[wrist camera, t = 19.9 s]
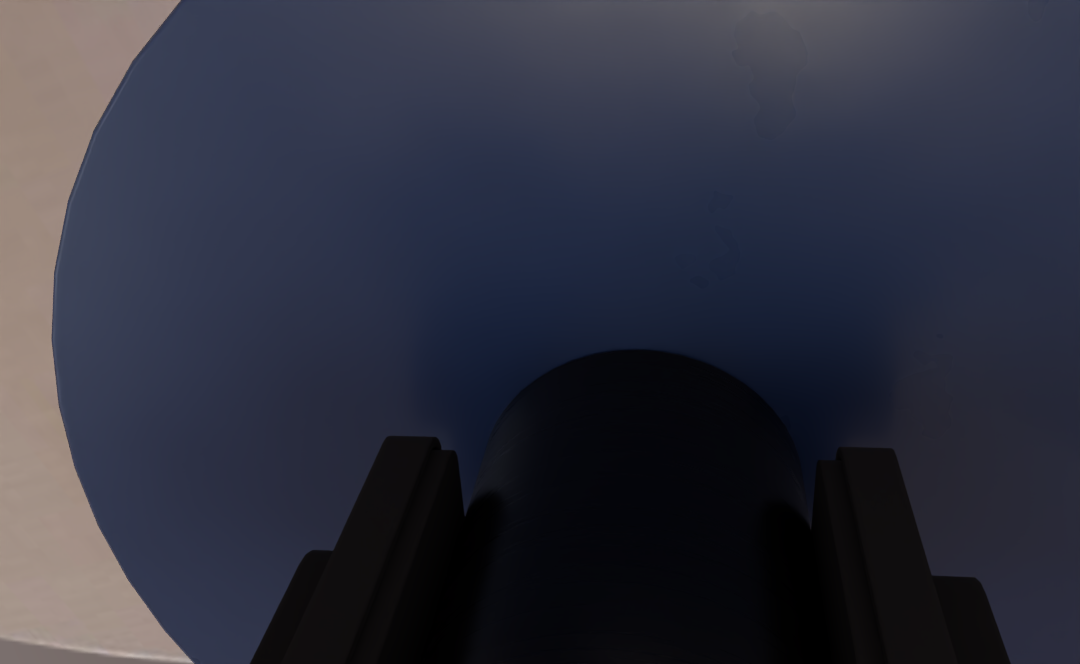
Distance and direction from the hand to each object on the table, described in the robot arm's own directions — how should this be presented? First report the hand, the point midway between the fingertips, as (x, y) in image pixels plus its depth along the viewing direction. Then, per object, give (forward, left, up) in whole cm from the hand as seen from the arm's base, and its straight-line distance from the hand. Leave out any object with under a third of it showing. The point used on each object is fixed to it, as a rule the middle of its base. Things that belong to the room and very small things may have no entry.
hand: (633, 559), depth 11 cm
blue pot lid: (0, 0, -2) cm, 2 cm away
